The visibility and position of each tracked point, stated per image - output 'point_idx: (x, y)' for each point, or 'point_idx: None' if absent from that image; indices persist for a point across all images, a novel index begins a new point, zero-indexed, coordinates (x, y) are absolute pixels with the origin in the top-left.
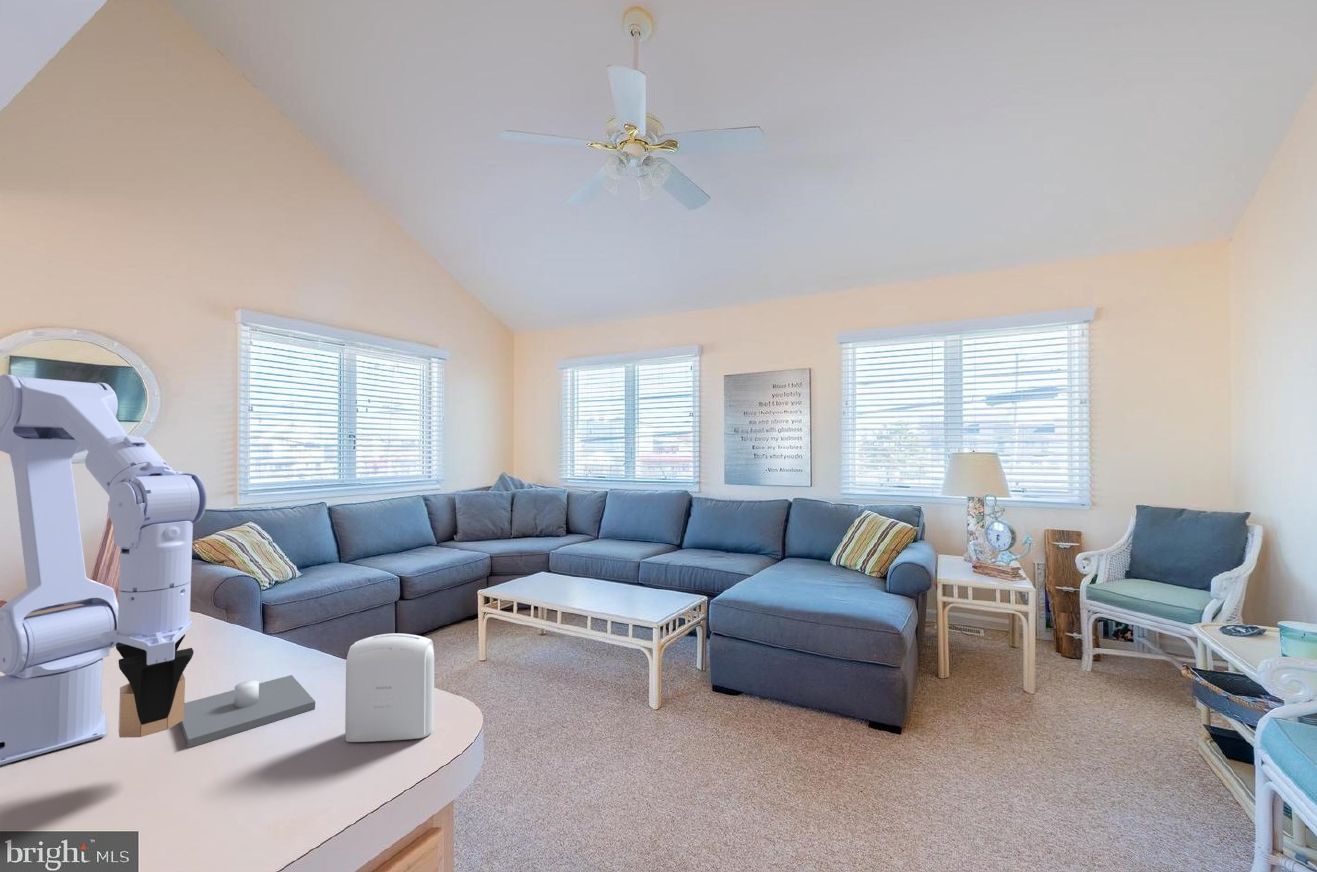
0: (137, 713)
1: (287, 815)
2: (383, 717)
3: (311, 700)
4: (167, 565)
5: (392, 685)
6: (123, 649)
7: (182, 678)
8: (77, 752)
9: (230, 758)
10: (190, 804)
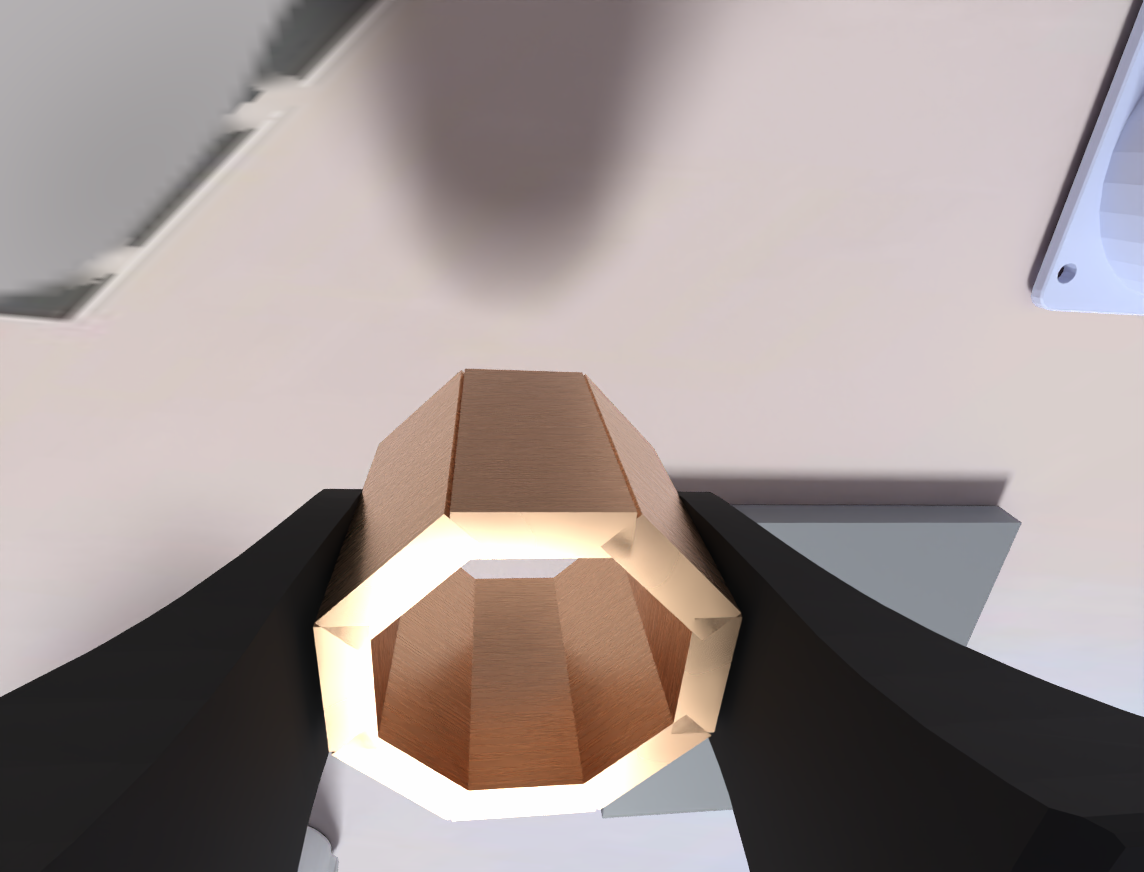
0: (289, 516)
1: None
2: None
3: (621, 811)
4: None
5: None
6: (1007, 841)
7: (473, 808)
8: (984, 210)
9: None
10: (160, 463)
